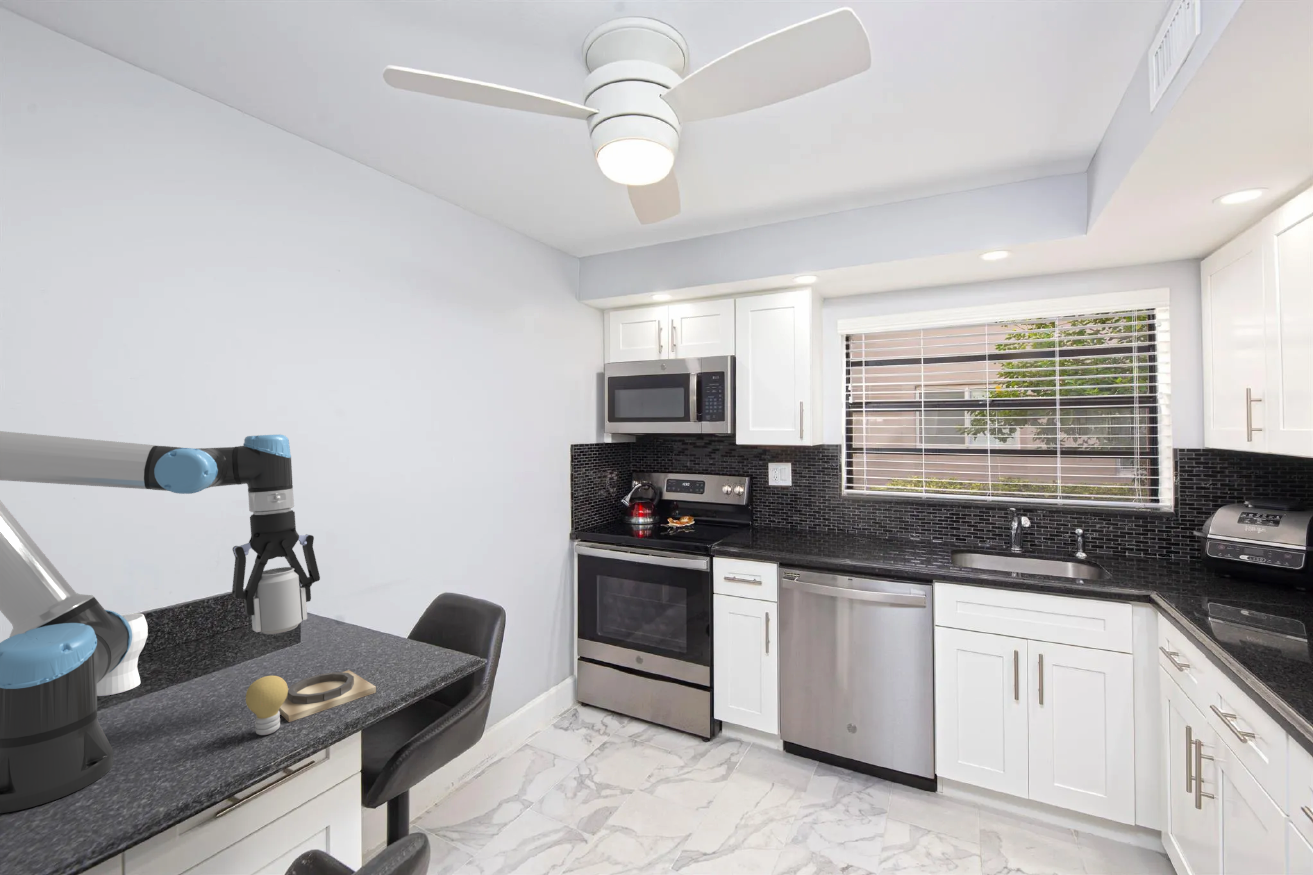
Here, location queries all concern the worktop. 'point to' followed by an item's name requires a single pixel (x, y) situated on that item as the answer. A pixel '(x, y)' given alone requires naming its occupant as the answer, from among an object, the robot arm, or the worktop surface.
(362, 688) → the board
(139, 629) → the cup
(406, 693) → the worktop surface
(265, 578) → the can
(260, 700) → the light bulb
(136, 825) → the worktop surface
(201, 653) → the worktop surface
